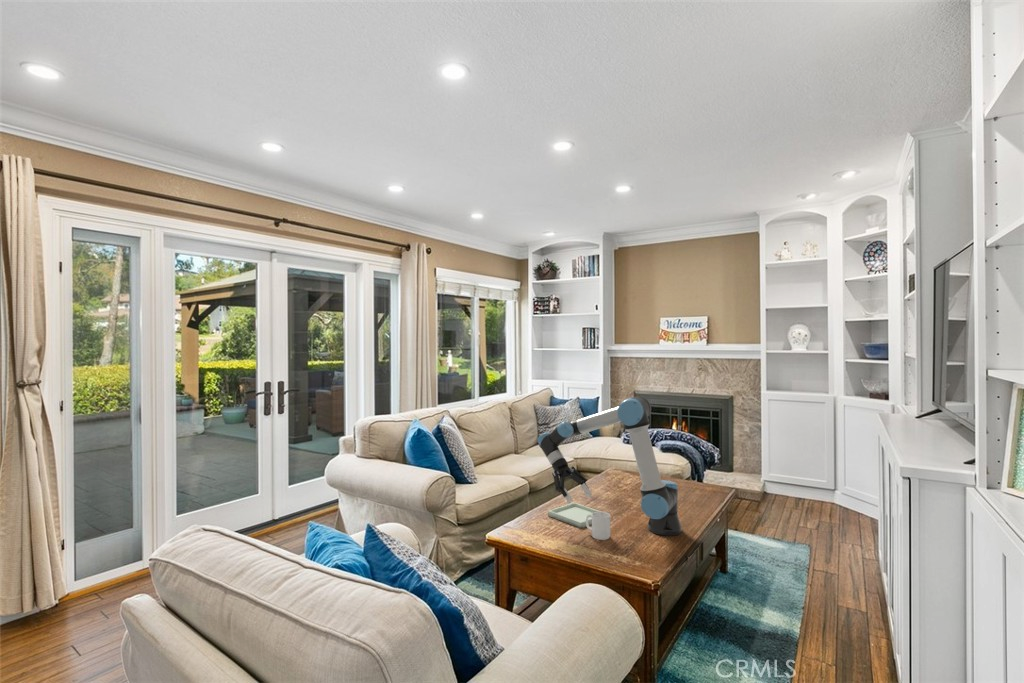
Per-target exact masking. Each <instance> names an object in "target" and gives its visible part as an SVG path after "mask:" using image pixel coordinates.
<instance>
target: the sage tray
mask: <svg viewBox="0 0 1024 683" xmlns="http://www.w3.org/2000/svg"><path fill="white" fill-rule="evenodd" d="M593 512H602V511H601V510H597V509H594V508H592V507H589V506H587V505H583V504H581V503H577V502H571V503H570V504H568V503H567V504H565V505H562V506H559V507H555V508H552V509H550V510H547V516H548V517H550V518H553V519H556V520H558V521H561V522H563V523H566V524H568V525H572V526H574V527H576V528H578V529H582V528H585V527H587V526H586V517H587V515H589V514H590V515H592V513H593ZM588 525H589V526H592V518H591V517H589V519H588Z"/></svg>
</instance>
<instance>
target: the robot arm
mask: <svg viewBox="0 0 1024 683" xmlns="http://www.w3.org/2000/svg"><path fill="white" fill-rule="evenodd" d="M651 412H652V405H651V402H650V401H649V400H648V399H647V398H646V397H645V396H640V395H637V396H632V397H630V398H626V399H624V400H623V401H621V403H620V404H619V405H618V406H615V407H612V408H609V409H607V410H603V411H600V412H598V413H597V412H596V413H595V414H591V415H588V416H585V417H582V418H579V419H577V420H572V421H569V422H568V421H565V420H564V421H562V422H561V423H559V424H558V425H557V427H555V428H554V429H553V430H552V431H551V432H548V431H547V432H544V433H541V434H540V435H538V437H537V443H538V445H539V447H540V449H541V450H542V452H543V454H544V455H545V457H546V459H547V460H548V462H549V464H550V465H551V467H552V469H553V472H552V476H553V480H554V481H553V482H554V488H555V491H556V492H558V493H561V495H562V496H563V497H564V499H565V500H566V502H567V505H568V504H571V503H573V498H572V497H571V494H570V493H569V492H568V490H567V488H565V480H567V479H571V480H573V481H574V482H576V483H578V484H579V485H580V488H581V489H582V491H583V492H584V494H585V496H586V497H587V499H589V498H590V497H591V496H592V495H593V494H592V493H591V490H590V489H589V486H588V485H587V483H586V482H588V479H587V478H586V477H585V476H584V475H582V474H581V473H580V472H579V471H578V470H577V469H576V468H575V467H574V466H573V465H572V466H571V467H569V463H568V461H567V460H566V458H565V455H564V454H563V453H562V451H561V449H560V448H559V446H561V445H562V444H563V443H564V442H565V441H567V440H569V439H571V438H574V437H577V436H580V435H583V434H585V433H590V432H593V431H596V430H598V429H602V428H605V427H609V426H612V425H616V424H619V423H622V425H623V428H624V430H625V431H626V432H628V434H629V438H630V442H631V446H632V449H633V453H634V457H635V461H636V465H637V470H638V473H639V476H640V480H641V486H640V488H639V491H640V494H641V500H640V507H641V511H642V512H643V514H645V516H647V517H649V519H648V523H647V529H648V530H649V532H651V533H653V534H656V535H661V536H667V537H668V536H670V537H671V536H677V535H680V534H681V533H682V525H681V522H680V519H679V516H678V510H679V509H678V504H679V502H678V499H679V497H678V494H679V489H678V484H677V482H675V481H674V482H673V481H671V480H663V479H662V477H661V474H660V470H659V467H658V464H657V460H656V456H655V451H654V448H653V445H652V441H651V437H650V434H649V430H648V429H649V426H650V425H651V423H650V419H649V417H650V416H651V415H650V414H651Z"/></svg>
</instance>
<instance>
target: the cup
mask: <svg viewBox="0 0 1024 683" xmlns="http://www.w3.org/2000/svg"><path fill="white" fill-rule="evenodd" d="M589 517H591V518H592V524H591V526H590V525H588V519H589ZM585 527H586V528H587V529H588V530H589V531H591V536H592V538H594V539H595V540H599V541H605V540H606V541H607V540H609V539H610V537H611V513H609V512H606V511H601V512H593V513H592V515H590V514H589V515H587V517H586V526H585Z"/></svg>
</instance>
